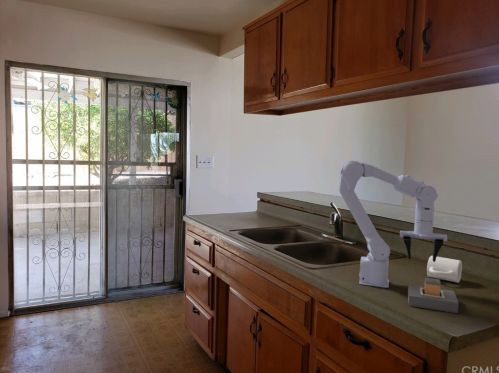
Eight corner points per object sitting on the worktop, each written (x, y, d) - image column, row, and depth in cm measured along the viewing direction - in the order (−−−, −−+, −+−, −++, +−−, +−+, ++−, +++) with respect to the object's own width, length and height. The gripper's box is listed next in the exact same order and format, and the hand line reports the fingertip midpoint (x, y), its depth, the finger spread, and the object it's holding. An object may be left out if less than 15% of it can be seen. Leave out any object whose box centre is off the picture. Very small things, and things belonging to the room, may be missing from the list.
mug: (432, 274, 146) (433, 253, 146) (461, 280, 140) (462, 258, 139) (423, 281, 137) (424, 259, 136) (454, 288, 131) (455, 265, 130)
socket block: (408, 305, 114) (409, 295, 113) (407, 293, 124) (408, 284, 123) (457, 313, 109) (458, 302, 109) (452, 300, 119) (453, 290, 119)
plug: (424, 303, 115) (425, 281, 115) (423, 299, 119) (425, 277, 119) (439, 306, 114) (440, 283, 113) (437, 301, 118) (439, 279, 117)
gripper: (400, 220, 128) (398, 259, 129) (449, 223, 123) (446, 265, 124) (400, 217, 135) (398, 255, 136) (446, 220, 130) (444, 260, 131)
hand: (421, 259), depth 130 cm, fingers open, 7 cm apart
